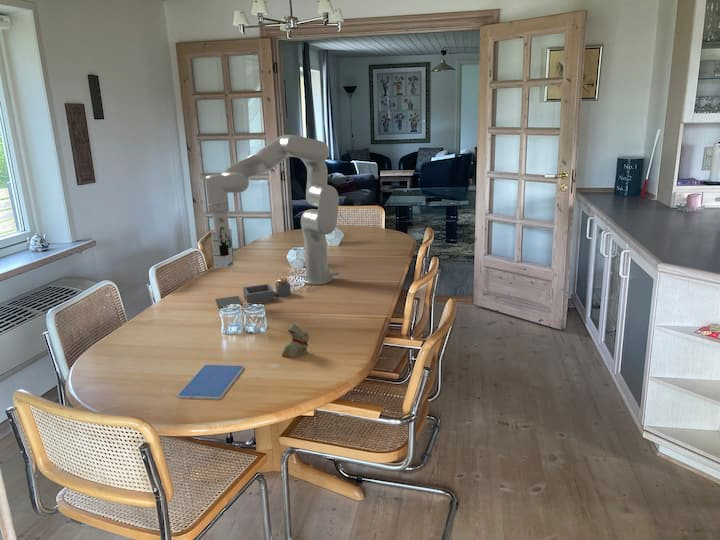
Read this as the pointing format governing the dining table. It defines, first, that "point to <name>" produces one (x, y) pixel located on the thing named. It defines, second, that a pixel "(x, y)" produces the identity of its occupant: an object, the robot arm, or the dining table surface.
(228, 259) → the syrup box
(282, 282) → the plunger
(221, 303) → the mat
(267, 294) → the housing
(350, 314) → the dining table surface
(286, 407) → the dining table surface
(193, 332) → the dining table surface
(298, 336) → the chocolate bunny
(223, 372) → the tablet computer
